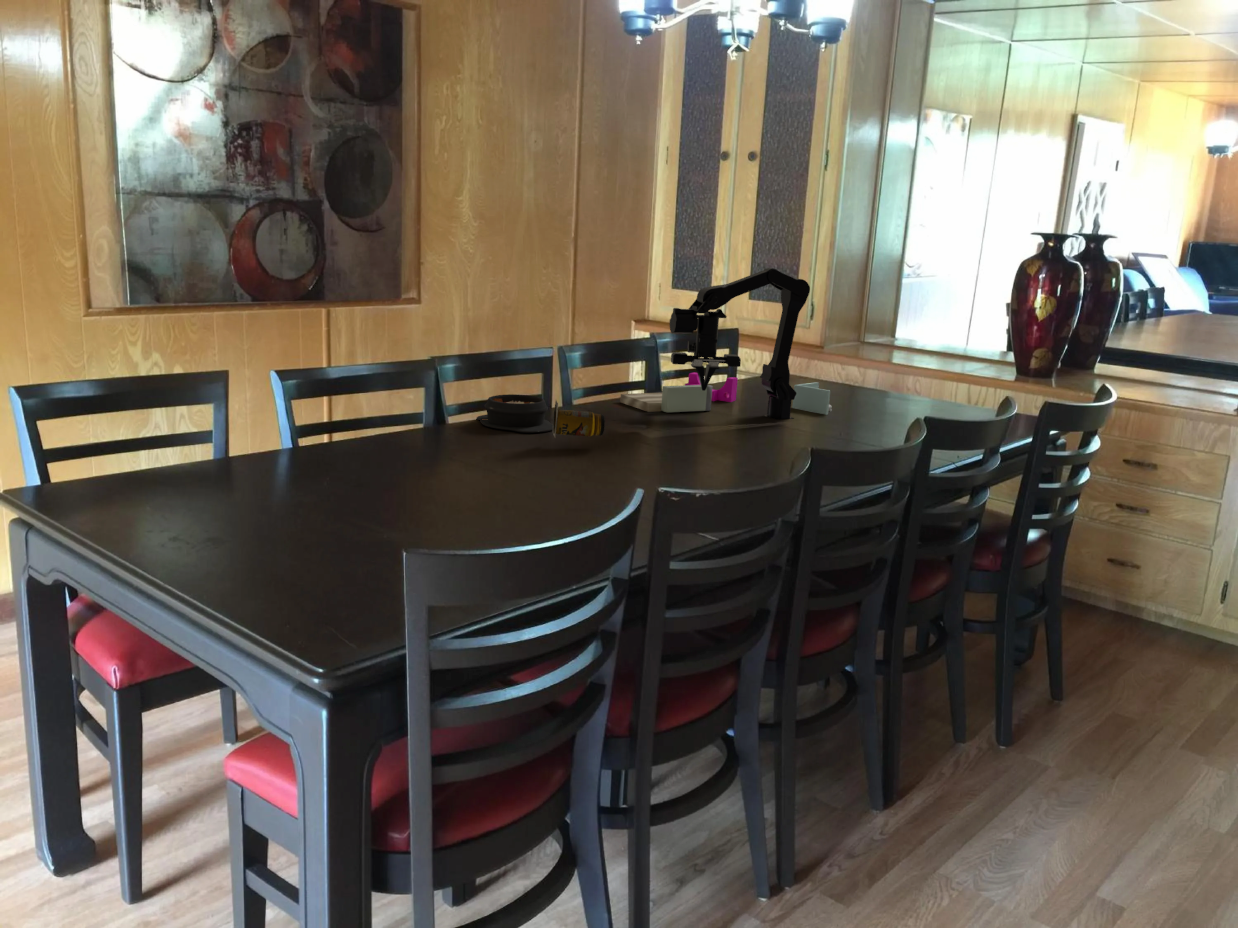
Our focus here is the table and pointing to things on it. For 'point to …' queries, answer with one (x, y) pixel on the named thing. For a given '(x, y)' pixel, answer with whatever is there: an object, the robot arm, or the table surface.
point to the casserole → (516, 413)
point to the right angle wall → (812, 398)
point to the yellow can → (577, 423)
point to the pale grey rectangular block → (686, 398)
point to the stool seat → (643, 401)
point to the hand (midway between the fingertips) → (703, 390)
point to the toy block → (723, 393)
